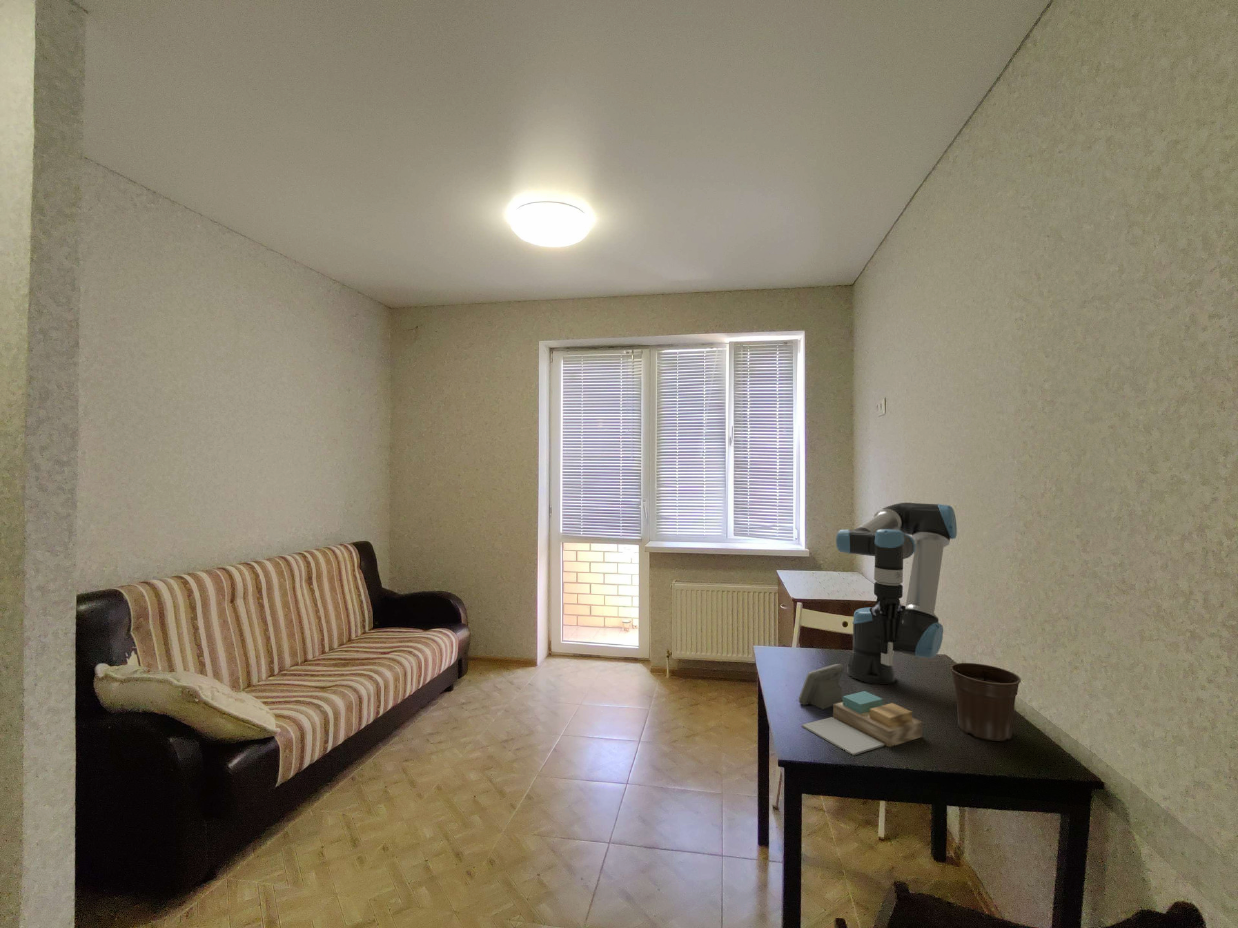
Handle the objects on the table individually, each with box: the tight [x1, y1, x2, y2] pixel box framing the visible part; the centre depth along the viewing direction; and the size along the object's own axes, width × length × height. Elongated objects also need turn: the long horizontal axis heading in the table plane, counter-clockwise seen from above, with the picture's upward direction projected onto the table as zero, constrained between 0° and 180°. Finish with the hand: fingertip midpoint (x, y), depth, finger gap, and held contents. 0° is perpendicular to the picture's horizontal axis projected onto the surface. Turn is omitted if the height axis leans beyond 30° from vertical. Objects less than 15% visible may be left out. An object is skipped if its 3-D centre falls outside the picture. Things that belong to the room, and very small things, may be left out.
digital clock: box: [798, 663, 844, 710], centre depth 171 cm, size 16×9×11 cm, turn 113°
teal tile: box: [842, 690, 884, 714], centre depth 158 cm, size 9×6×2 cm, turn 117°
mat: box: [801, 716, 885, 756], centre depth 149 cm, size 12×17×1 cm
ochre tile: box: [870, 702, 913, 728], centre depth 150 cm, size 9×6×2 cm, turn 117°
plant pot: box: [949, 662, 1022, 742], centre depth 153 cm, size 16×16×16 cm
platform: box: [832, 701, 923, 748], centre depth 154 cm, size 13×18×4 cm
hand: (886, 664), depth 163 cm, fingers closed
